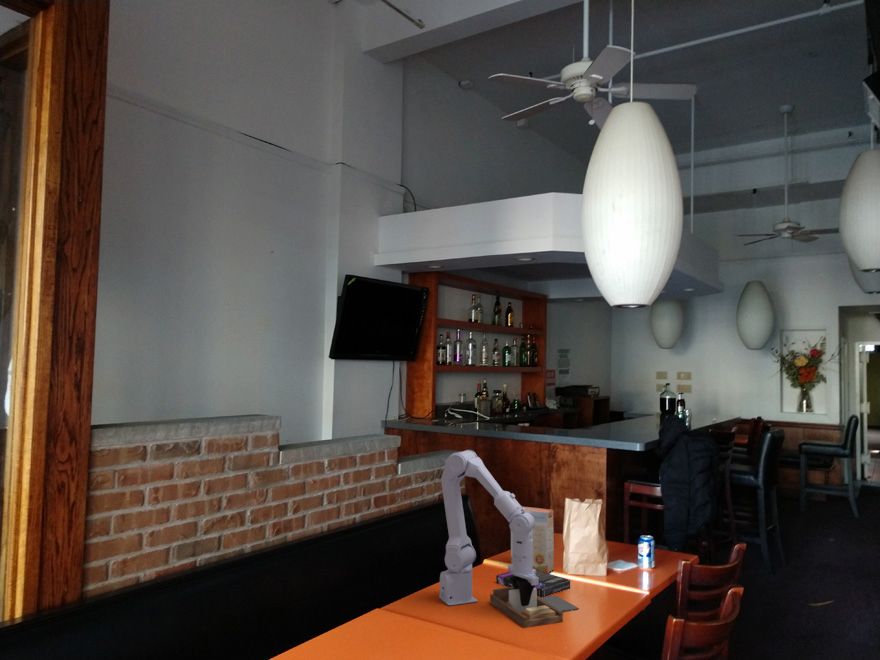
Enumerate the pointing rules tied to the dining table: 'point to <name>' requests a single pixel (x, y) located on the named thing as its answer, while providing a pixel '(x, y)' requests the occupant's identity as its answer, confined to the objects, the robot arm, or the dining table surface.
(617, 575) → the dining table surface
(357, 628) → the dining table surface
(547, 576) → the box
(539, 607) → the offcuts
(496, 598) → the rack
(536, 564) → the cracker box
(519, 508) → the robot arm
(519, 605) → the light grey block
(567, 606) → the mat
